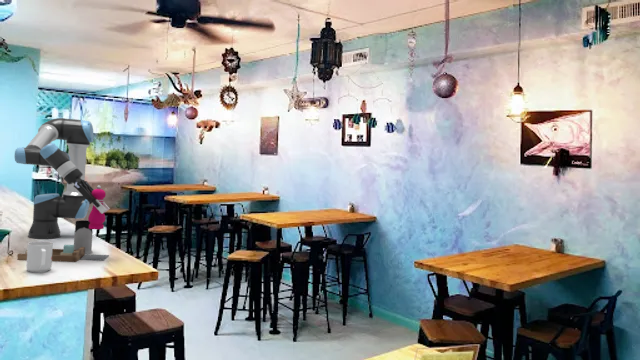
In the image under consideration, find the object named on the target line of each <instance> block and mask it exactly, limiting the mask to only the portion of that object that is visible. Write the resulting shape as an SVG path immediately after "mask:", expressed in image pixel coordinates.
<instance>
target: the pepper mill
mask: <svg viewBox="0 0 640 360" xmlns="http://www.w3.org/2000/svg"><path fill="white" fill-rule="evenodd" d="M91 194H92V195H93V196H94V197H95V198H96V199H97V200H98V201H99V202H100V203H101V204H102V205H103V203H105V199H104V198H105V197H106V190H104V189H102V186H101V185H99V184H98V185H97V186H96V188H95V189H94V190H93V191H92V193H91ZM87 221H89V222H90V224H89V229H92V230H103V229H104V227H105V226H104V225H105V224H104V222H106V215H105V212H104V213H103V214H102V213H101V212H100V211H99V210H98V209H97V208H96V207H95V206H94V205H93V204H92V207H91V211H90V212H89V215H88V217H87Z"/></svg>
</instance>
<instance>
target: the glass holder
mask: <svg viewBox="0 0 640 360" xmlns="http://www.w3.org/2000/svg"><path fill="white" fill-rule="evenodd" d="M89 224H90V222H89V221H88V220H85V219H84V220H76V221H75V225H74V226H75V227H74V228H75V229H74V237H73V245H74V250H78V249H79V248H81V247H85V255H86V254H92V253H93V250H92V247H93V232H94V230H93V229H89Z"/></svg>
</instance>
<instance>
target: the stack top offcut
mask: <svg viewBox="0 0 640 360" xmlns="http://www.w3.org/2000/svg"><path fill="white" fill-rule="evenodd" d="M62 249H63V253H73V252H74V244H63V248H62Z"/></svg>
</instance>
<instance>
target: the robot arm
mask: <svg viewBox="0 0 640 360" xmlns="http://www.w3.org/2000/svg"><path fill="white" fill-rule="evenodd" d="M94 135H95V134H94V127H93V125H92V122H91V121H89V120H84V119H74V118H63V117H62V118H61V117H59V118H53V119H49V120H47V121H44V123H42V124H41V125H40V126H39V127H38V128H37V133H36V134H35V135H34V137H33V138H32V139H31V140H30V142H29V143H28V144H27V145H26V146H25V147H24V146H23V147H17V148H16V149H15V150H14V161H15V163H16V164H21V165H34V166H49V167H51V168H53V169H54V170H55V171H56V173H57V175H58V176H60V177H61V178H63V180H64V181H65V182H66V191H64V192H63V193H62V196H61V195H60V194H59V193H43V194H37V195H36V196H35V197H34V199H33V200H34V201H33V213H32V214H33V215H32V224H31V226H30V228H29V230H28V235H27V236H28V238H31V239H38V240H39V239H42V240H44V239H45V240H46V239H48V240H49V239H58V238H60V237H61V229H60V225H59V223H58V221H59V219H60V218H61V219H75V220H77V219H78V220H79V219H85V218H86V216H87V214H88V212H89V207H90V205H91V204H92V206H93V205H94V206H95V207H96V208H97V209H98V210H99V211H100V212H101V213H102V214H103V213H104V214H105V213H106V212H108V211H109V210H110V209H111V208H110V207H109V206H108V205H107V204H106V202H104V203H103V205H102V204H101V203H100V202H99V201H98V200H97V199H96V198H95V197H94V196H93V195H92V194H91V193H92V191H93V190H95V189H94V187H92V186H91V185H90V184H89V183H88V181H87V180H86V178H85V177H86V163H87V161H86V160H87V149H88V148H89V147H90V146H91V143H93V142H94V137H95V136H94ZM57 140H61V141H65V142H66V143H65V144H66V145H67V146H68V153H67V151H65V150H61V149H60V148H59V146H57V145H56V144H55V143H53V142H55V141H57Z"/></svg>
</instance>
